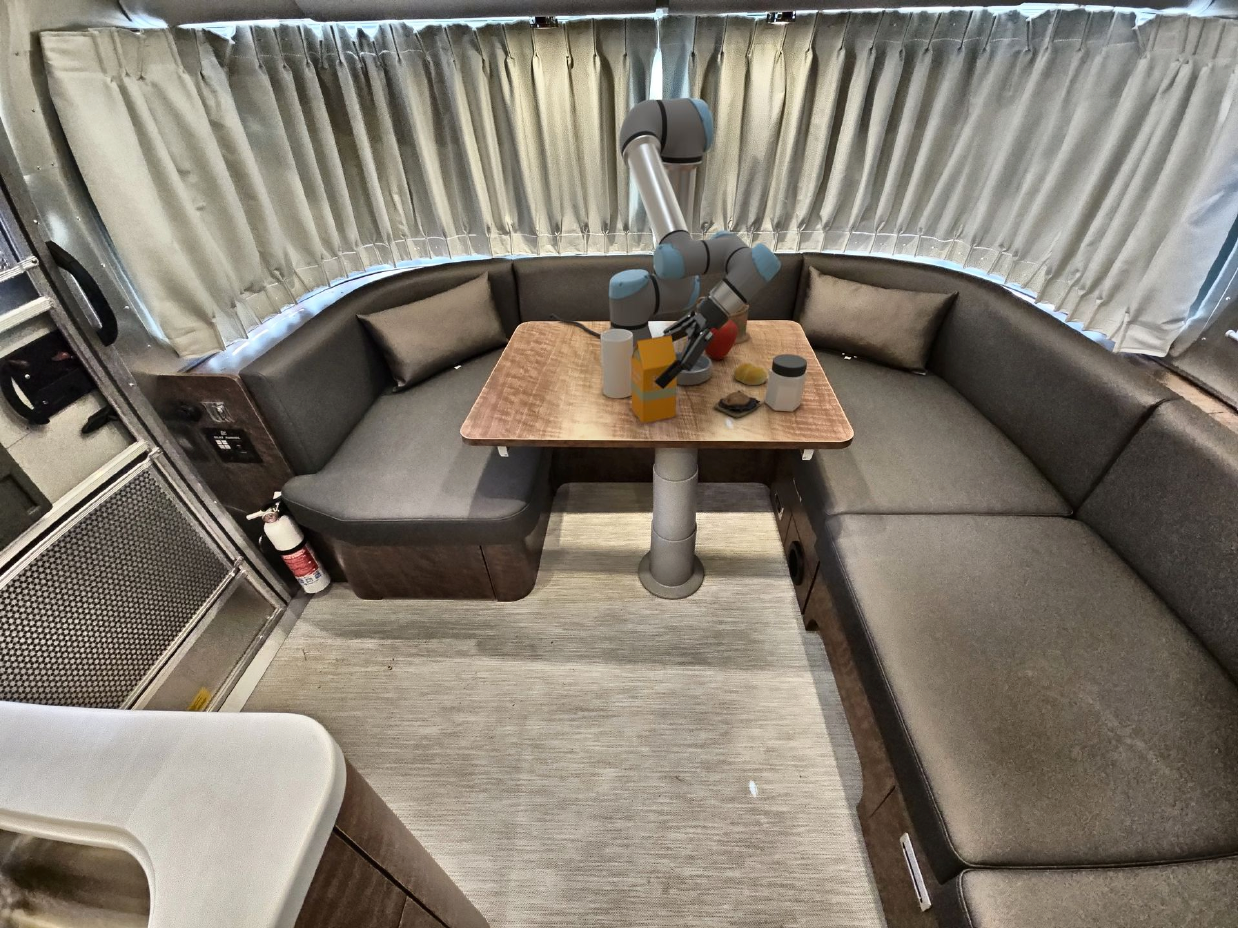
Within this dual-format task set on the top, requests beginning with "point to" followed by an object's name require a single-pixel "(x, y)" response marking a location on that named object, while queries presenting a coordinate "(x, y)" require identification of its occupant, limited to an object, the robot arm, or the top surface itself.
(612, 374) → the cup
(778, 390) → the jar
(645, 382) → the orange juice
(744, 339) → the mug
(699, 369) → the pan
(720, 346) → the apple
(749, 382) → the bread roll
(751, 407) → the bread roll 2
